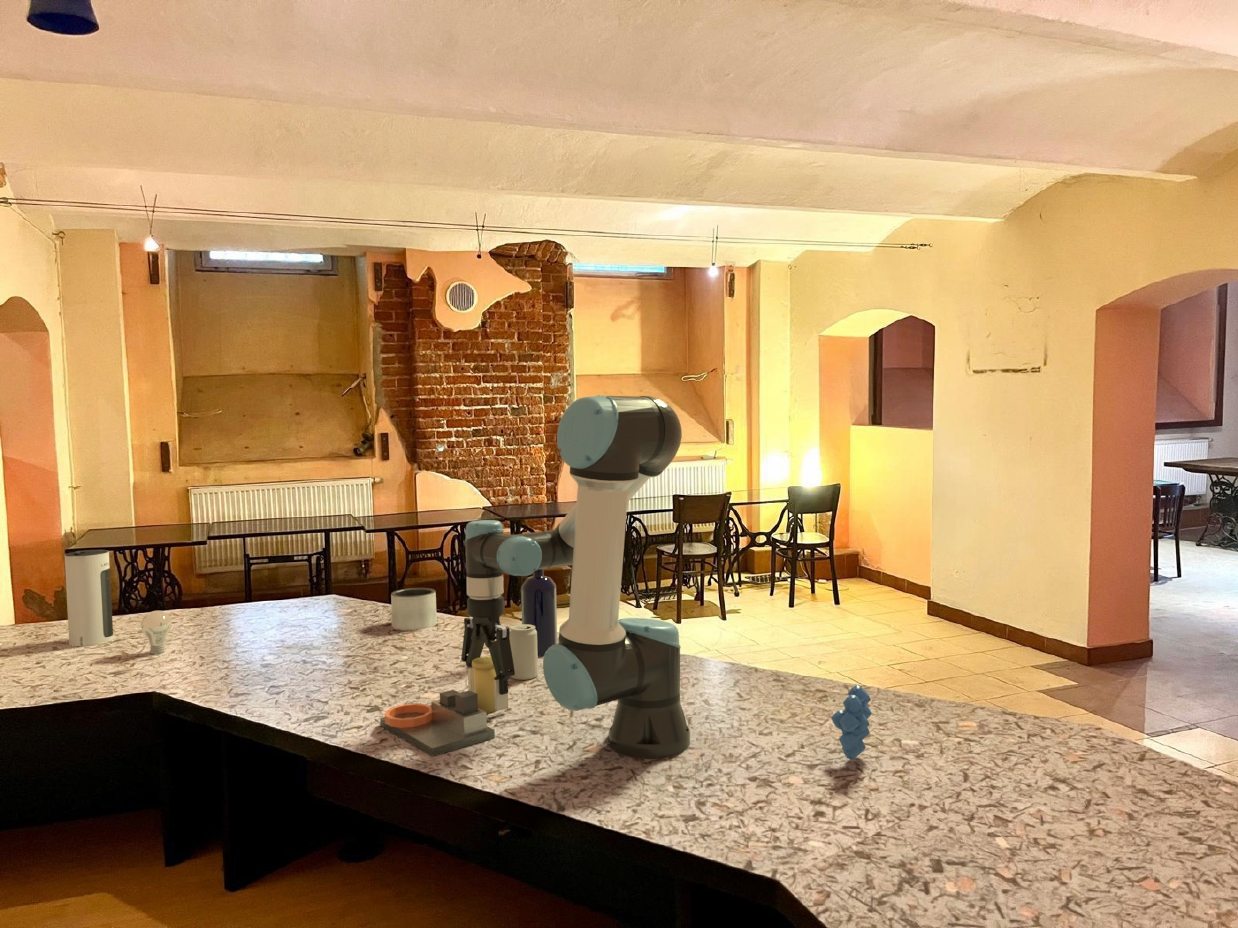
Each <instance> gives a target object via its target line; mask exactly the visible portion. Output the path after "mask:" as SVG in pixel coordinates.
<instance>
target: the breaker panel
mask: <svg viewBox="0 0 1238 928" xmlns="http://www.w3.org/2000/svg"><path fill="white" fill-rule="evenodd" d="M430 703H431V704H430V705H429V704H428V705H429V706H431V710H432V720H431V721H430V722H428V723H426V724H423V725H419V726H416V727H405V728H399V727H391V726H389V725H387V724H386V723H385V716H383V717H380V718H379V721H380V723H379V725H380V727H382V728H384V729H385V730H387V731H389V732H390V733H392V734H394V735H396V736H397V737H399V738H401V739H402V740H404V741H406V742H407V743H409V744H410V745H413V746H414V747H415V748H418V749H419V750H421V751H423V752H424V753H426V754H428V755H429V756H431V757H436V756H439V755H442V754H446V753H449V752H452V751H455V750H459V749H462V748H465V747H466V748H467V747H469V746H472V745H476V744H479V743H482V742H486V741H490V740H493V739H495V738H496V736H495V735H496V733H495V731H496V730H495V729H494V728H492V727H490V726H488V725H487V713H486V711H484V710H482V709H480V708H478V712H474V713H470V714H467V715H462V714H460V713H457V712H456V705H454V706H451V707H445V706H443V705H441V704H440V699H437V700H433V701H431V702H430ZM424 714H425V713H418V712H412V713H403V714H399V715H396V716H394V718H414V717H418V716H422V715H424Z"/></svg>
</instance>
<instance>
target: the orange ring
mask: <svg viewBox="0 0 1238 928" xmlns="http://www.w3.org/2000/svg"><path fill="white" fill-rule="evenodd" d="M412 712H418V713H425V714H424V715H422V716H418V717H414V718H394V716H396V715H399V714H403V713H412ZM384 717H385V723H386V724H387V725H389V726H391V727H399V728H405V727H416V726H419V725H423V724H426V723H428V722H430V721H431V720H432V710H431V706H429V704H424V703H406V704H405V703H404V704H401V705H397V706H393V707H391V708H389V709H387V710H385V713H384Z"/></svg>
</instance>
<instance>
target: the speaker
mask: <svg viewBox="0 0 1238 928" xmlns="http://www.w3.org/2000/svg"><path fill="white" fill-rule="evenodd" d="M64 567H65V568H64V570H65V587H66V588H65V589H66V605H67V608H66V609H67V610H66V611H67V624H68V625H67V626H68V628H67V629H68V644H69V646H71V645H73V646H72V647H74V646H84V647H86V646H85V645H92V646H94V645H93V644H98V643H102V642H106V643H109V642H111V641H112V640H113V639H114V625H113V607H112V587H111V583H112V582H111V568H110V551H109V550H106V549H89V550H77V551H72V552H68V553H65V554H64ZM108 641H109V642H108ZM102 644H103V643H102ZM98 645H99V644H98Z"/></svg>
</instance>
